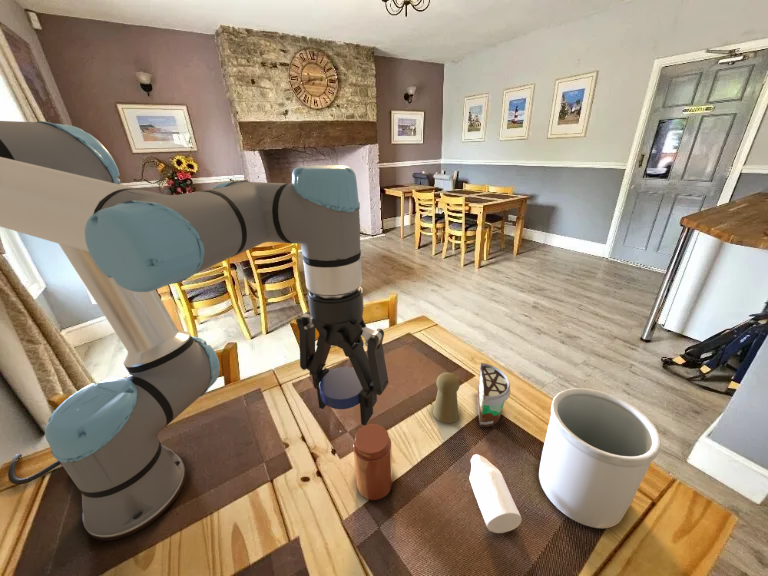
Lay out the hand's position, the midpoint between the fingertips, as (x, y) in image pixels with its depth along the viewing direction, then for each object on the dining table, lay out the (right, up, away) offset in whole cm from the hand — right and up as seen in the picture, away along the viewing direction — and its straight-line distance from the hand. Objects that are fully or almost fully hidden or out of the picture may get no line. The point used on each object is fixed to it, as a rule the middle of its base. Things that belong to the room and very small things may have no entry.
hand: (345, 410), depth 52 cm
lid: (0, +5, -2) cm, 6 cm away
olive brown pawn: (+21, -10, +23) cm, 33 cm away
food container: (+32, -10, +22) cm, 40 cm away
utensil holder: (+43, -17, +6) cm, 46 cm away
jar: (+5, -17, +8) cm, 19 cm away
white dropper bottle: (+25, -18, +5) cm, 31 cm away
